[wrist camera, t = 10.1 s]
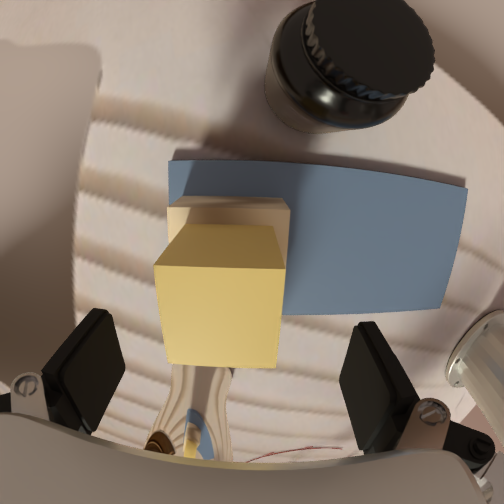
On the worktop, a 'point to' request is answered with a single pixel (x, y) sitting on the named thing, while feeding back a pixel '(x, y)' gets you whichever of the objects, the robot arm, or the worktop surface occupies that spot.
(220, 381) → the beer glass
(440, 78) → the worktop surface
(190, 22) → the worktop surface
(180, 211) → the beech base block
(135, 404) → the worktop surface
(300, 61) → the supplement bottle
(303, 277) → the board
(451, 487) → the robot arm
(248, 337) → the mustard block
